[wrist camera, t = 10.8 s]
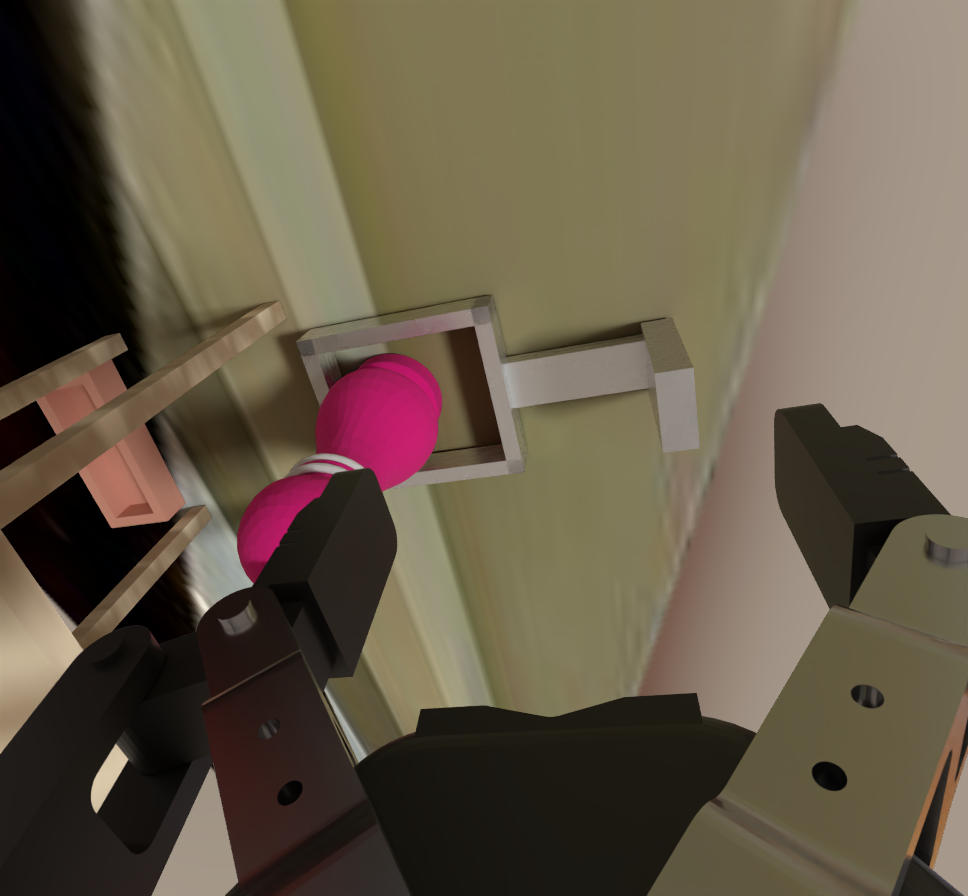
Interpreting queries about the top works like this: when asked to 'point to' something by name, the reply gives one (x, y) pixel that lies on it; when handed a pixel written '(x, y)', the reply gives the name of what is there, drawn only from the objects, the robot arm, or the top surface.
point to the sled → (525, 378)
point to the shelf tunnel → (8, 493)
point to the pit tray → (116, 454)
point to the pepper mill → (350, 446)
